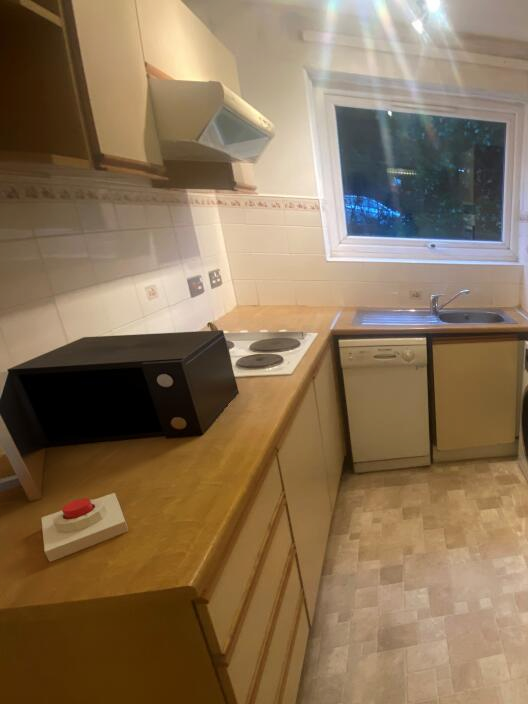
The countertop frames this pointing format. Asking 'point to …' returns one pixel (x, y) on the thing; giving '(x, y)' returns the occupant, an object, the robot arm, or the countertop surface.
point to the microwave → (127, 387)
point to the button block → (82, 528)
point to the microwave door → (20, 442)
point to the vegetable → (214, 328)
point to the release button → (77, 508)
